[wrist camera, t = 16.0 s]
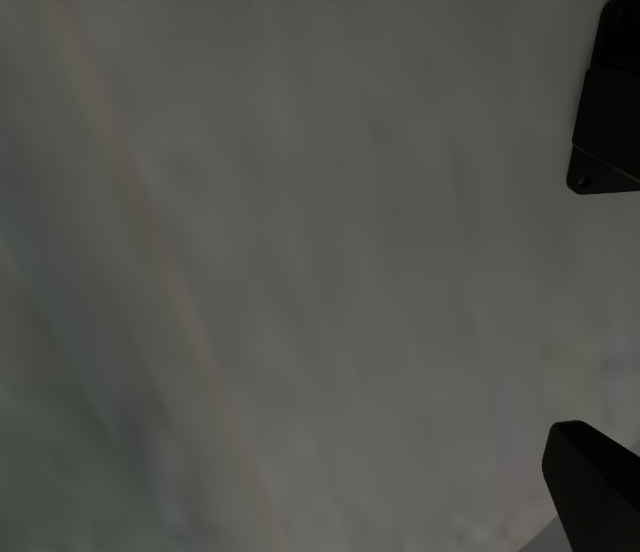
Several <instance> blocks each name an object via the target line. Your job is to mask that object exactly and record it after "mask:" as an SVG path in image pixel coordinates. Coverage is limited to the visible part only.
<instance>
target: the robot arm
mask: <svg viewBox="0 0 640 552" xmlns="http://www.w3.org/2000/svg"><path fill="white" fill-rule="evenodd" d="M620 8H622V9H623V15H622V17H621V19H620V20H619V21H618V22H616V21H615V15H616V13H617V11H618V10H619V9H620ZM572 143H573V144H574V146H573V150H572V155H571V160H570V165H569V170H568V174H567V186H568V188H569V189H571V190H572V191H574V192H575V193H577V194H580V195H586V194H601V193H616V192H631V191H640V0H611V1H609V2H608V3H607V4H606V5H605V7H604V8H603V10H602V13H601V16H600V21H599V26H598V30H597V35H596V40H595V45H594V50H593V54H592V59H591V64H590V68H589V69H588V70H587V71H586V74H585V79H584V84H583V89H582V94H581V99H580V103H579V108H578V113H577V118H576V123H575V128H574V133H573V137H572ZM585 175H586V179H585V181H584V182H583V183H582V184H578V182H579V180H580V178H582V177H583V176H585ZM542 472H543V476H544V479H545V481H546V484H547V487H548V489H549V492H550V494H551V497H552V500H553V502H554V505H555V507H556V510H557V512H558V515H559V518H560V520H561V523H562V525H563V528H564V531H565V533H566V535H567V538H568V541H569V543H570V546H571V549H572V551H573V552H640V457H639V456H637V455H636V454H634V453H633V452H631V451H629V450H628V449H626V448H625V447H623V446H622V445H620V444H618V443H617V442H615V441H614V440H612V439H611V438H609V437H607V436H606V435H604V434H603V433H601V432H600V431H598V430H596V429H595V428H593V427H592V426H590V425H589V424H587V423H585V422H583V421H580V420H573V421H563V422H556V423H554V424H553V425H552V426H551V428H550V431H549V435H548V439H547V443H546V447H545V451H544V454H543V458H542Z"/></svg>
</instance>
